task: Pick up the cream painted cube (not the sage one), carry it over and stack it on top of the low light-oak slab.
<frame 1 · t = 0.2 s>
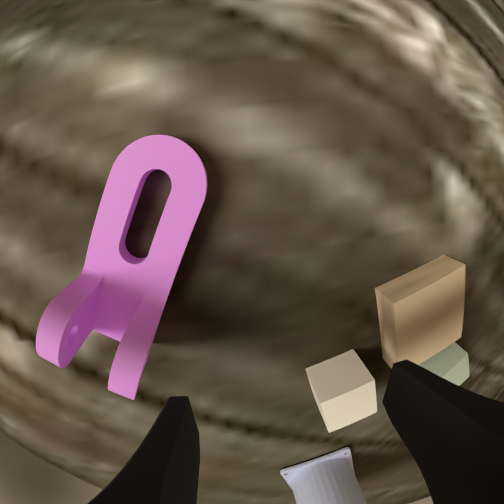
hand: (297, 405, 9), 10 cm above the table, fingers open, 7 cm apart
sage cube: (430, 357, 22), on the table
oak slab: (412, 306, 20), on the table
bracket: (140, 241, 17), on the table
cream cube: (333, 375, 21), on the table
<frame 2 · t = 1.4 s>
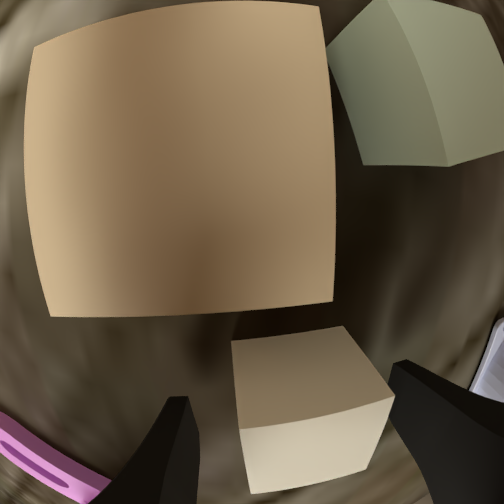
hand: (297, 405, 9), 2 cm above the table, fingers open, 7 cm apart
sage cube: (391, 98, 8), on the table
oak slab: (181, 158, 8), on the table
bracket: (62, 464, 12), on the table
cream cube: (288, 375, 10), on the table
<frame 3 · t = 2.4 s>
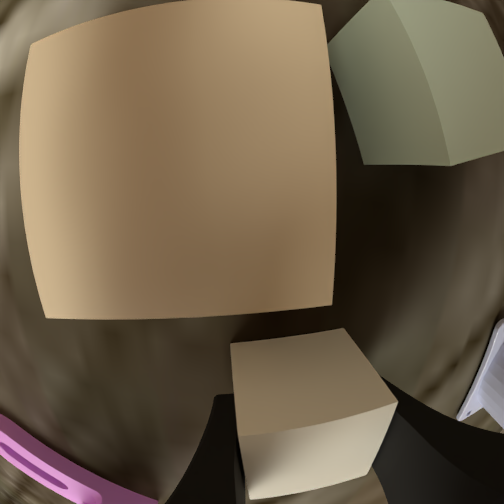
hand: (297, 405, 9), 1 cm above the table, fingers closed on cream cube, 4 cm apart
sage cube: (392, 97, 8), on the table
oak slab: (179, 157, 8), on the table
bracket: (61, 466, 11), on the table
cream cube: (288, 379, 10), on the table, touching gripper
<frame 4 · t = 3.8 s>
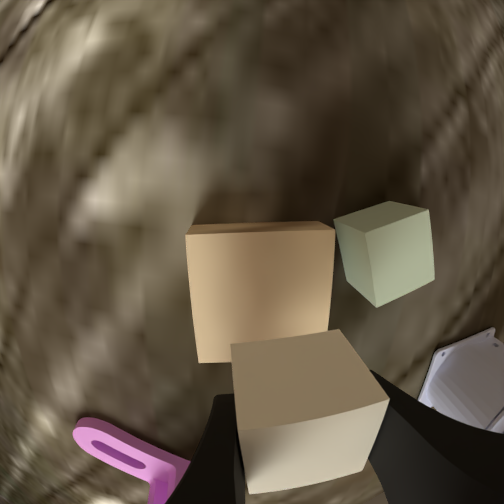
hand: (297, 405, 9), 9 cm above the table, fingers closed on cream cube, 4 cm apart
sage cube: (368, 240, 17), on the table
oak slab: (256, 280, 17), on the table
bracket: (139, 452, 20), on the table
cream cube: (286, 378, 10), point 7 cm above the table, touching gripper
when the fingers open (6 cm above the table, at t = 5.2 s): cream cube drops 1 cm, resting on oak slab.
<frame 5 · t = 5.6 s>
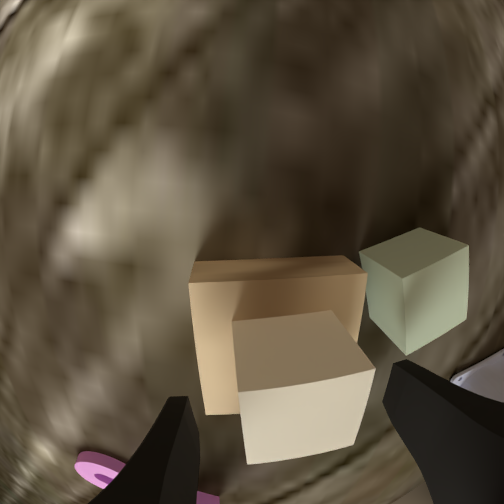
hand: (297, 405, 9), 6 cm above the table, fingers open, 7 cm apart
sage cube: (395, 272, 14), on the table
oak slab: (269, 321, 14), on the table, touching cream cube
bracket: (144, 482, 18), on the table
cream cube: (283, 356, 11), point 3 cm above the table, touching oak slab
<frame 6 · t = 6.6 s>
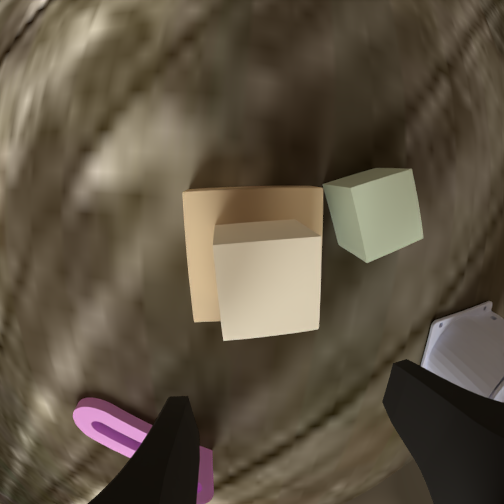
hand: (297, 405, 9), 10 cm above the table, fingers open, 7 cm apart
sage cube: (357, 205, 17), on the table
oak slab: (250, 243, 17), on the table, touching cream cube
bracket: (139, 434, 21), on the table
cream cube: (257, 260, 15), point 3 cm above the table, touching oak slab
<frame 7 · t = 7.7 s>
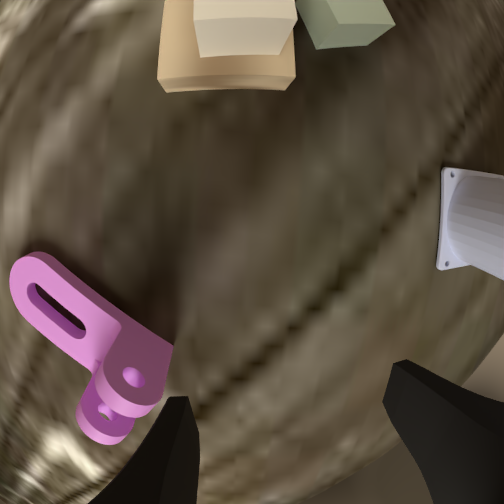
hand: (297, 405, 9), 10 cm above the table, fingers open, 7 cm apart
sage cube: (331, 24, 14), on the table
oak slab: (225, 43, 14), on the table
bracket: (83, 317, 18), on the table
cream cube: (238, 25, 11), point 3 cm above the table
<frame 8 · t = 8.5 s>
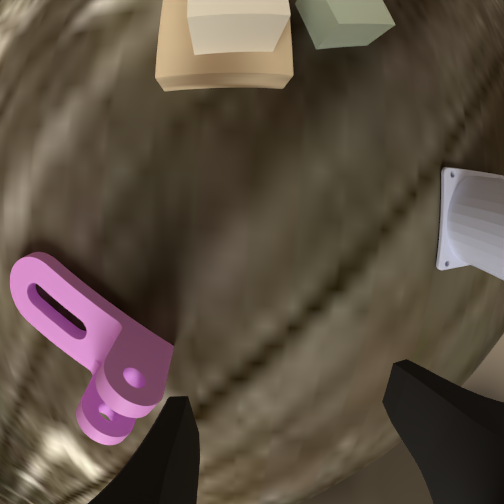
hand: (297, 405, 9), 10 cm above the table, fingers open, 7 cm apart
sage cube: (331, 24, 14), on the table
oak slab: (224, 41, 14), on the table, touching cream cube
bracket: (83, 317, 18), on the table
cream cube: (232, 22, 11), point 3 cm above the table, touching oak slab
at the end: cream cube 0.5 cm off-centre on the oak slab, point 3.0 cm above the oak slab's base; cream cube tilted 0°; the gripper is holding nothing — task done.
